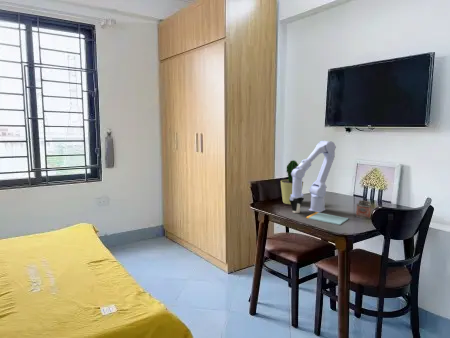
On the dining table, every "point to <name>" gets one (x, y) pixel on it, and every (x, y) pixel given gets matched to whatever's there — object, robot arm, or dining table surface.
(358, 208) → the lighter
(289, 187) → the potted cactus
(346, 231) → the dining table surface
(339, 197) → the dining table surface
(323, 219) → the mat
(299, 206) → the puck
